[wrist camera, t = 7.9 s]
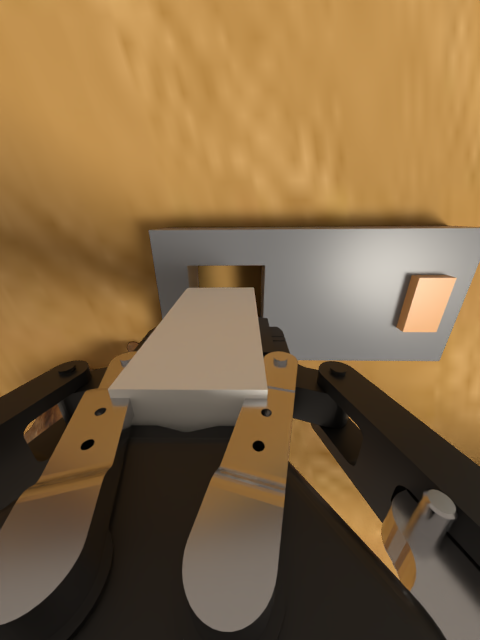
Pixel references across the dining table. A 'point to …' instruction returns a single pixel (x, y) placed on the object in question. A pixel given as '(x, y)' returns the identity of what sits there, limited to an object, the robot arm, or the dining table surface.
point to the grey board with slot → (337, 283)
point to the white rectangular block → (197, 363)
